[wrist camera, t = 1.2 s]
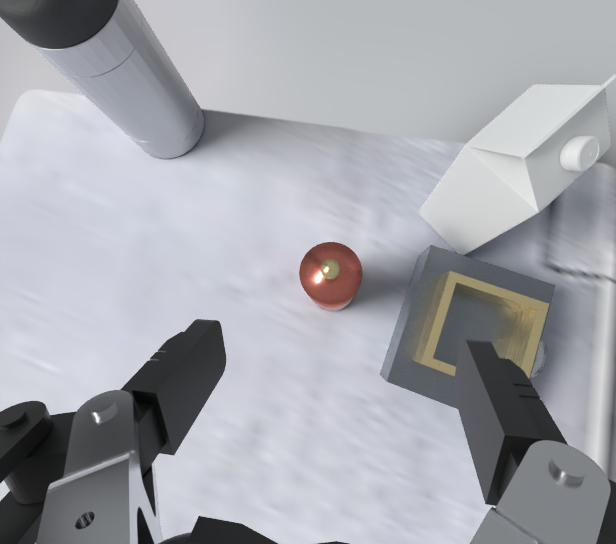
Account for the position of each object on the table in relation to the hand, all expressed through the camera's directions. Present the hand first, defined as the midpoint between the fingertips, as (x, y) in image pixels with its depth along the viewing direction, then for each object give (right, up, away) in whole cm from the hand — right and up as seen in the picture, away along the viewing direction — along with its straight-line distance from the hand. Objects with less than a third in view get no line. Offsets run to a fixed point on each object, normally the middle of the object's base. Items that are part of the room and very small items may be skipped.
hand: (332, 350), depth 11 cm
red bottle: (+2, +1, +27) cm, 27 cm away
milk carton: (+17, +9, +28) cm, 34 cm away
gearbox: (+15, -4, +25) cm, 30 cm away
